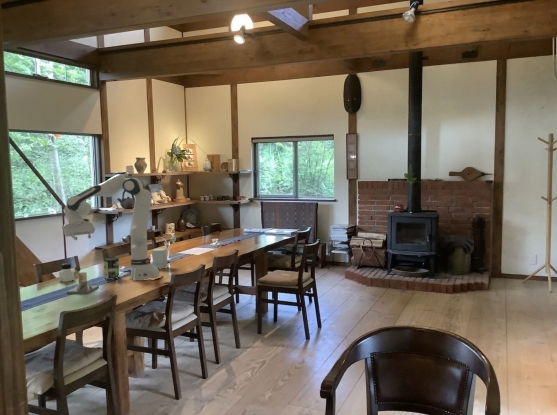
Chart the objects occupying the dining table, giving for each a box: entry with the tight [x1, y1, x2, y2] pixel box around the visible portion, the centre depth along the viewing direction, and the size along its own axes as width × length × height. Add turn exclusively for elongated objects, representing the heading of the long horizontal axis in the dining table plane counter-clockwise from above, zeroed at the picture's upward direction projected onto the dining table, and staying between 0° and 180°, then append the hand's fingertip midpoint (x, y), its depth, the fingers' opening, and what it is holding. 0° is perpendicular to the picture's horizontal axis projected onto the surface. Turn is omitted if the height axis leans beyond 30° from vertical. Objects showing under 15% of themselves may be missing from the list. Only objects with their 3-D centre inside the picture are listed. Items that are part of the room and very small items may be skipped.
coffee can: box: [103, 257, 120, 280], centre depth 336 cm, size 10×10×14 cm
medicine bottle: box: [58, 262, 75, 283], centre depth 330 cm, size 7×7×12 cm
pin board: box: [66, 281, 99, 295], centre depth 303 cm, size 14×14×5 cm
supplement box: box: [151, 248, 168, 269], centre depth 364 cm, size 9×9×15 cm
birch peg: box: [77, 271, 88, 289], centre depth 302 cm, size 5×5×10 cm
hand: (83, 238), depth 321 cm, fingers open, 8 cm apart
